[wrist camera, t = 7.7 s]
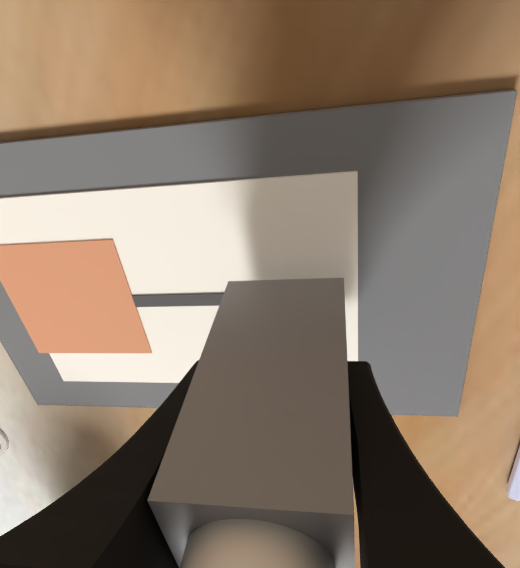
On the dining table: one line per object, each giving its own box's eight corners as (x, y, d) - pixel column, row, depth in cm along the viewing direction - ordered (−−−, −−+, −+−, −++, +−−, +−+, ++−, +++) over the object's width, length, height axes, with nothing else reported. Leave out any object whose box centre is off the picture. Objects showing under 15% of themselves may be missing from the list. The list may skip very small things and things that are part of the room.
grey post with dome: (343, 277, 14) (358, 613, 6) (345, 364, 16) (358, 697, 9) (228, 281, 15) (115, 586, 7) (244, 364, 17) (171, 669, 9)
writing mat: (513, 88, 13) (519, 91, 12) (456, 411, 20) (458, 419, 20) (-103, 152, 17) (-113, 156, 16) (40, 400, 24) (36, 406, 24)
